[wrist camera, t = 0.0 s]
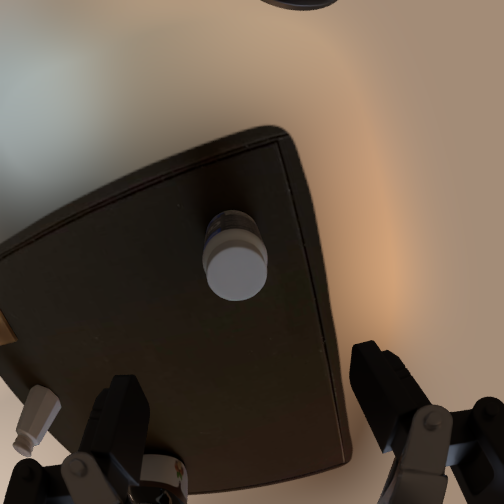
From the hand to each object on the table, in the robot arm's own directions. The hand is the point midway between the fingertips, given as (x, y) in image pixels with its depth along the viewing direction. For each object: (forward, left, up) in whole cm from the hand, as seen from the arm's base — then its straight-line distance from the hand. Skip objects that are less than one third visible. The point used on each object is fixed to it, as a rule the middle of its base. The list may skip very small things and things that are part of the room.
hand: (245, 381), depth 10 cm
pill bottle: (+1, 0, -19) cm, 19 cm away
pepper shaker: (+21, -31, -19) cm, 41 cm away
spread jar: (+36, -19, -19) cm, 44 cm away
